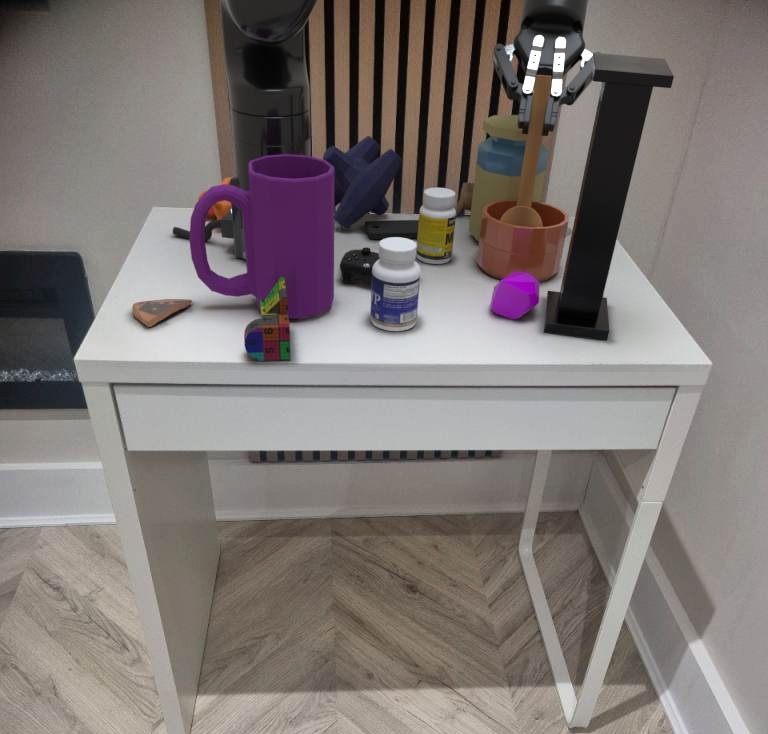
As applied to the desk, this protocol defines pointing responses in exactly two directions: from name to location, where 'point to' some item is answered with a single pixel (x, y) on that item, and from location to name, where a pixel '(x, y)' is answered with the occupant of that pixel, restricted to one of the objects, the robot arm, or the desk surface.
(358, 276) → the game controller
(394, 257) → the pill bottle
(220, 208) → the orange fox figurine
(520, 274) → the crystal
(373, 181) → the tetrapod
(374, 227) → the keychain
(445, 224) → the supplement bottle
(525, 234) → the bowl
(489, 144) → the jar
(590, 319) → the shelf stand
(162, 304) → the pottery shard
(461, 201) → the brown paper bag
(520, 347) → the desk surface
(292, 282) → the mug
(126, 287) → the desk surface
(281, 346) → the puzzle-patterned holder
